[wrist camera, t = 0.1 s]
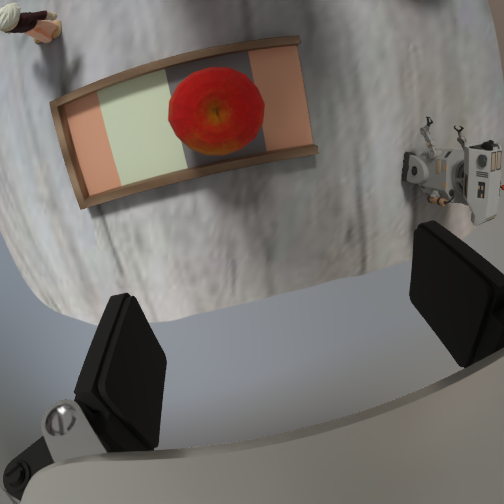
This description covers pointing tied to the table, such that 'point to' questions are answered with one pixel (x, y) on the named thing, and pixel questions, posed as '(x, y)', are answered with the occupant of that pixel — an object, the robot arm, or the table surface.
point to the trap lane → (160, 131)
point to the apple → (216, 111)
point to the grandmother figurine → (30, 23)
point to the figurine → (458, 174)
